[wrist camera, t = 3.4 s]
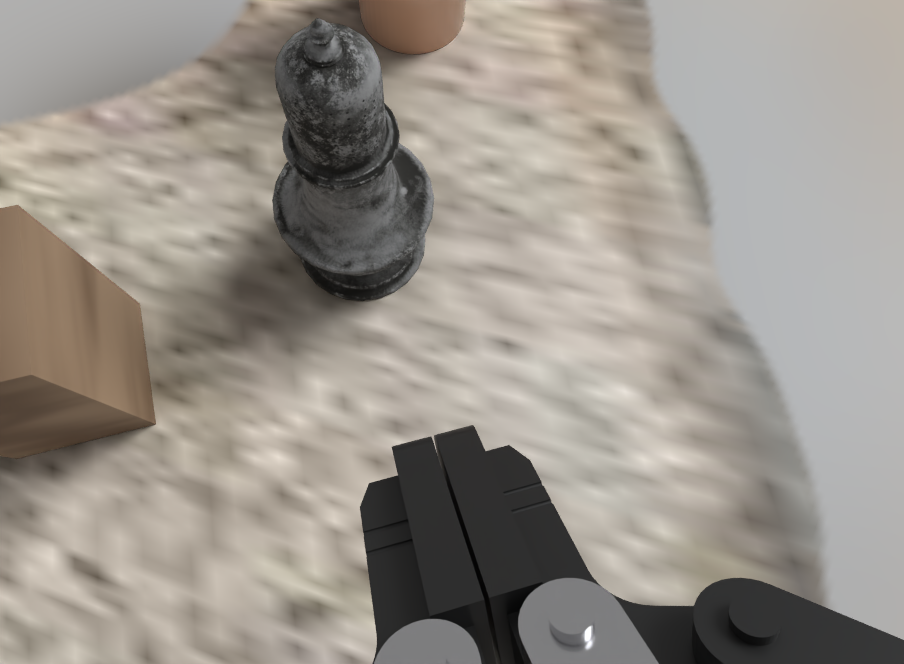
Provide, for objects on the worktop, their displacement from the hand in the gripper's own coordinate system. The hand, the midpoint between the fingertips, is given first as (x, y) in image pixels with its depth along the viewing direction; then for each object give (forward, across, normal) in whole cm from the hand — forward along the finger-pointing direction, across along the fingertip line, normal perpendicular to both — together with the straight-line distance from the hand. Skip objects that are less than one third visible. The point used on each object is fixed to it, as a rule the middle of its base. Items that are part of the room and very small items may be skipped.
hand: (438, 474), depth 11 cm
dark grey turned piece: (+17, 0, +1) cm, 17 cm away
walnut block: (+14, +12, +3) cm, 19 cm away
